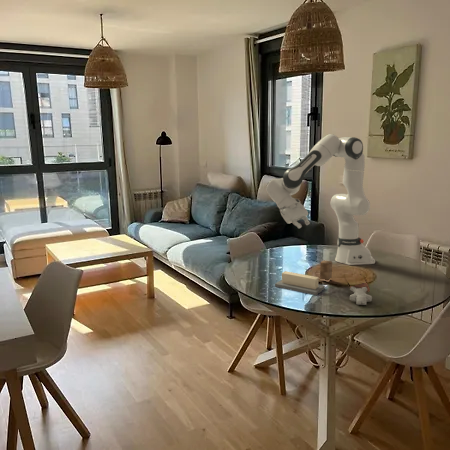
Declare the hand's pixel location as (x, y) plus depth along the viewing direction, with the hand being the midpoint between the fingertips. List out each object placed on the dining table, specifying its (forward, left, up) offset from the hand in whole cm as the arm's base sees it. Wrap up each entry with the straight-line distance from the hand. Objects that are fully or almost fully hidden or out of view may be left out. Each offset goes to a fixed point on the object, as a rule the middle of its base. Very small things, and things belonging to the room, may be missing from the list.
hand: (304, 225), depth 229 cm
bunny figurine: (-23, +32, -28) cm, 48 cm away
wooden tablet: (-26, +9, -28) cm, 39 cm away
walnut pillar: (-11, +6, -28) cm, 30 cm away
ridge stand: (+3, +17, -27) cm, 33 cm away
